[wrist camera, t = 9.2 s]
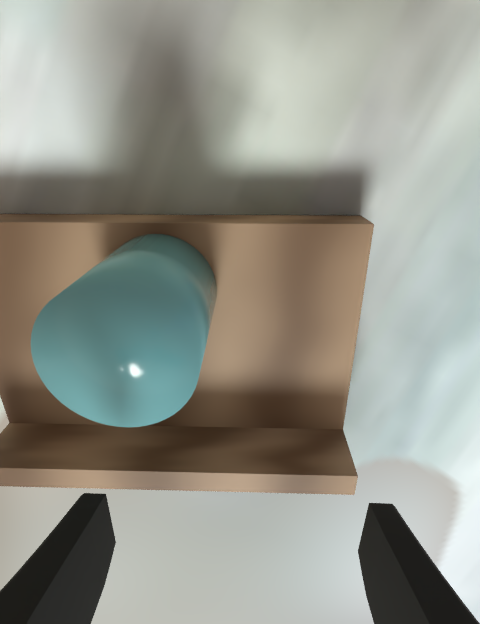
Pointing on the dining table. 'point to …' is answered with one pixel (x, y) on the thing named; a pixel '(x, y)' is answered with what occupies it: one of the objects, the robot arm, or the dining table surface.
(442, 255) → the dining table surface
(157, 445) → the walnut shelf
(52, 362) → the teal round canister
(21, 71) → the dining table surface
